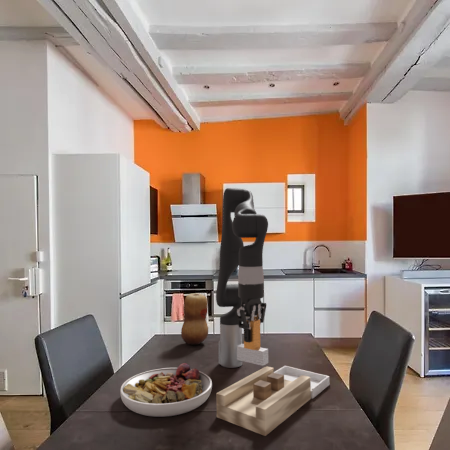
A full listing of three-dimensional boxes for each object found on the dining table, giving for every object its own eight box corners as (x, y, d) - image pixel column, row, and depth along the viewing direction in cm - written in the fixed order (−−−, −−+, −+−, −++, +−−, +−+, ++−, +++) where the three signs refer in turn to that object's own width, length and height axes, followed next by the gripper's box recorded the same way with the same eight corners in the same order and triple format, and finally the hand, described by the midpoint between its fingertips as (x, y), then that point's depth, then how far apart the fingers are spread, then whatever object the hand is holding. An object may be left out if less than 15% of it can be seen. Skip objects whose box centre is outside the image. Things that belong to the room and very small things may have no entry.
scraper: (236, 359, 108) (236, 319, 108) (243, 356, 110) (242, 317, 111) (262, 366, 102) (261, 323, 102) (268, 362, 105) (268, 320, 105)
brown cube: (267, 388, 118) (267, 376, 118) (273, 384, 121) (273, 372, 121) (277, 391, 115) (277, 379, 115) (284, 387, 118) (283, 375, 119)
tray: (265, 385, 130) (265, 376, 130) (285, 373, 141) (284, 365, 141) (312, 398, 119) (312, 389, 119) (329, 384, 130) (329, 376, 130)
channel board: (216, 417, 108) (216, 393, 108) (266, 385, 130) (266, 366, 130) (265, 436, 97) (264, 409, 97) (310, 398, 119) (310, 377, 119)
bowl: (187, 429, 102) (187, 400, 102) (100, 412, 112) (100, 386, 112) (224, 387, 130) (224, 364, 130) (152, 376, 140) (152, 356, 140)
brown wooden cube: (253, 397, 112) (253, 384, 112) (260, 392, 115) (260, 380, 115) (264, 400, 109) (264, 387, 109) (271, 396, 112) (271, 383, 112)
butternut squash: (197, 349, 172) (196, 296, 173) (175, 345, 179) (175, 294, 180) (214, 342, 183) (213, 292, 184) (193, 338, 191) (192, 291, 192)
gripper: (253, 278, 115) (254, 333, 114) (226, 283, 104) (227, 343, 103) (274, 279, 110) (275, 336, 110) (248, 285, 99) (249, 348, 99)
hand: (251, 339), depth 106 cm, fingers closed on scraper, 3 cm apart
